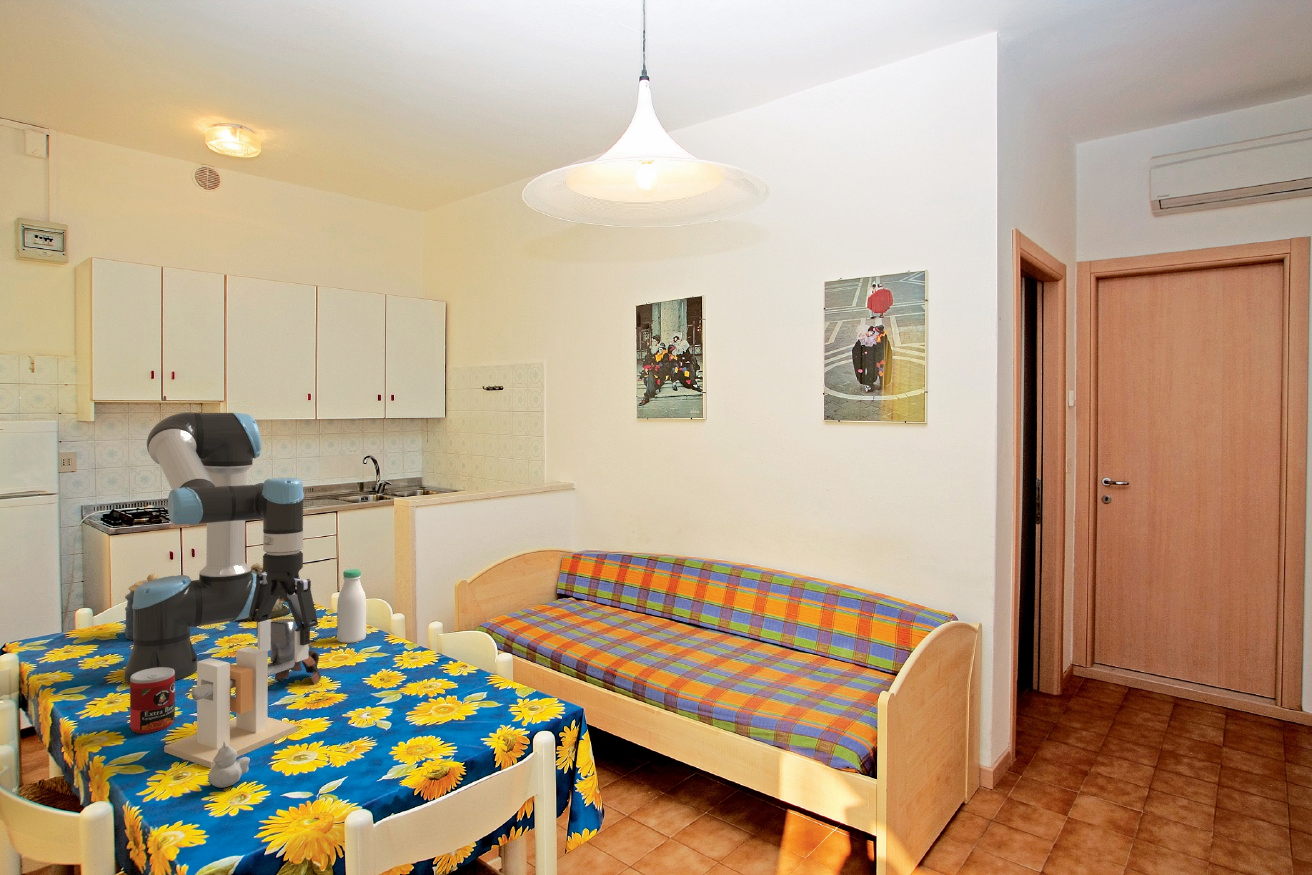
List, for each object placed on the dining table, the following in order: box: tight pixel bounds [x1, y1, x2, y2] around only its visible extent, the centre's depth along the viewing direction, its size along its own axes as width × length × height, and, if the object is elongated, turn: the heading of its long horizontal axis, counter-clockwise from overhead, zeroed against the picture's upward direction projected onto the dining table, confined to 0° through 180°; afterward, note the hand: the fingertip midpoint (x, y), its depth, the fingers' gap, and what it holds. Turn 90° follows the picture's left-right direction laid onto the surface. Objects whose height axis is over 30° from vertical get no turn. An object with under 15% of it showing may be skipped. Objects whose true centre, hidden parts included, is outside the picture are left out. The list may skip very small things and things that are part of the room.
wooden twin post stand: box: [163, 646, 298, 770], centre depth 145 cm, size 14×18×17 cm
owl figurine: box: [234, 562, 291, 623], centre depth 233 cm, size 18×12×17 cm, turn 131°
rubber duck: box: [207, 742, 251, 789], centre depth 129 cm, size 5×7×8 cm
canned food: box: [129, 667, 176, 734], centre depth 152 cm, size 8×8×11 cm
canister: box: [124, 573, 159, 641], centre depth 212 cm, size 13×13×18 cm
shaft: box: [191, 618, 296, 701], centre depth 148 cm, size 21×5×10 cm, turn 155°
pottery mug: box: [274, 649, 322, 685], centre depth 179 cm, size 12×10×8 cm
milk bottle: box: [336, 568, 367, 644], centre depth 211 cm, size 8×8×20 cm
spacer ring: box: [230, 663, 253, 714], centre depth 145 cm, size 8×2×8 cm, turn 65°
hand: (282, 655), depth 155 cm, fingers open, 11 cm apart
